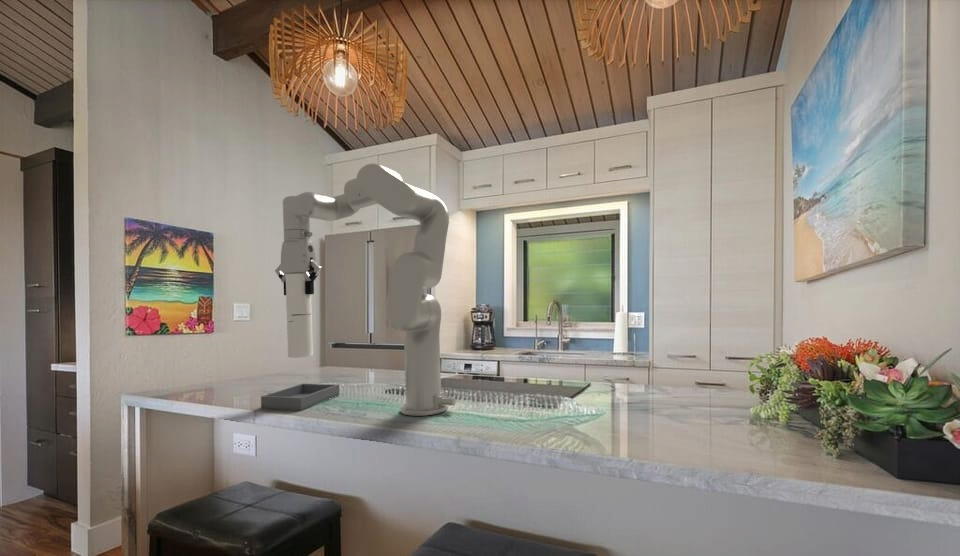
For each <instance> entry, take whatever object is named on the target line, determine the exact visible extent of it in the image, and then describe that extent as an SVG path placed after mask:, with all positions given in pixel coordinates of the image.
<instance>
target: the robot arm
mask: <svg viewBox="0 0 960 556" xmlns="http://www.w3.org/2000/svg"><path fill="white" fill-rule="evenodd" d="M373 205H380V206H381V207H382V208H384V209H385V210H387V211H388V212H390V213H392V214H393V215H395V216H398V217H401V218H406V219H408V220H409V219H410V220H415V221H417V222H419V226H418V228H417V230H416V232H415V236H414V240H413V248H412V251H408V252H407V251H406V252H404V253H402V254H400V255H398V257H397V258H396V259H395V261H394V262H393V264H392V265H391V269H390V274H389V281H388V286H387V287H388V288H387V296H386V303H385V304H386V305H385V316H386V320H387V323H388V325H389V326H390V327H391V328H392V329H394V330H396V331H398V332H406V333H405V335H404V336H405V337H404V347H403V348H404V353H403V354H404V377H405V378H404V379H405V380H404V381H405V382H404V383H405V403H404V404H403V405H401V407H400V413H401V414H403V415H406V416H413V417H414V416H415V417H416V416H417V417H423V416H432V415H437V414H440V413H441V414H442V413H444V412H446V411H447V410H448V406H455V405H456V397H454V396H446V395H445V394H446V393H445V391H444V390H442V384H441V383H442V380H441V379H442V378H441V357H440V356H441V353H440V352H441V351H440V350H441V349H440V347H441V345H440V334H441V333H440V331H441V330H440V329H441V320H442V308H441V305H440V302H439V300H438V299H437V298H436V297H434V296H433V295H431V294H428V293H426V292H424V293H423V290H424V289H425V290H427V289H431V288H435V287H436V286H437V285H438V284H439V283H440V282H441V279H442V275H443V267H444V259H445V251H446V242H447V238H448V237H447V235H448V230H449V224H450V216H449V215H450V214H449V211H448V207H447V206H446V205H445V202H443V200H441V198H439V197H438V196H437V195H435V194H433V193H431V192H429V191H427V190H424V189H422V188H419V187H415V186H414V185H410V184H408V183H406V181H404V180H403V178H402V176H401V175H400V174H399V173H398V172H397V171H395V170H392V169H391V168H389V167H386V166H384V165H381V164H379V163H375V162H374V163H368V164H365V165H364V166H362V167H361V168H360V169H359V171H358V172H357V175H356V178H352V179H350V180H348V181H346V182H345V183H344V187H343V194H340V195H336V196H329V195H324V194H321V193H316V192H312V191H305V192H302V193H299V194H298V195H289V196H286V197H284V198H283V200H282V219H283V221H282V222H283V223H282V224H283V241H282V243H281V251H280V264H279V265H278V266H277V268H276V269H275V270H274V272H275V273H276V275H277V277H278V278H279V279H280V281H281V283H282V284H283V295H284V296H286V274H300V273H304V276H305V278H306V280H307V281H305V294H311V295H314V294H315V292H314V291H315V284H314V283H315V281H316V279H317V278H318V276H319V274H320V272H321V270H322V269H323V268H322V266H320V265H319V264H318V262H317V255H316V250H315V249H316V248H315V245H314V241H313V240H311V237H313V232H311V228H310V227H311V226H310V225H311V224H310V223H311V222H310V218H311V219H314V220H315V219H317V220H322V221H328V222H333V221H334V222H335V221H338V220H342V219H346V218H348V217H352V216H353V215H355V214H356V213H358V212H359V211H360V209H363V208H367V207H370V206H373ZM309 274H310V276H309Z"/></svg>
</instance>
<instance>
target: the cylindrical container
mask: <svg viewBox="0 0 960 556" xmlns="http://www.w3.org/2000/svg"><path fill="white" fill-rule="evenodd" d="M309 276H310V274H309ZM305 281H307V280H306V278H305V276H304V273H300V274H286V295H285V296H286V297H285V300H286V303H285V307H286V330H287V332H286V333H287V334H286V335H287V336H286V337H287V357H288V358H292V359H293V358H295V359H296V358H306V357H312V356H314V340H313V338H314V336H313V334H314V333H313V314H312V313H313V309H312V308H313V307H312V294H305Z"/></svg>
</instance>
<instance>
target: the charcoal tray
mask: <svg viewBox="0 0 960 556" xmlns="http://www.w3.org/2000/svg"><path fill="white" fill-rule="evenodd" d="M338 395H340V384H331V383H325V384H324V383H301V384H296V385H294V386H289V387H287V388H284V389H281V390H278V391H273V392H271V393H268V394H264V395H262V396H261V395H260V408H269V409H268V410H279V409H284V410H283V411H301V412H302V411H304V410H306V409H307V410H308V409H309V408H312V407H314V405H315V406H317V405H319V404H318V403H320V402H322V401H324V400H327V399H329V398H332V397H335V396H337V397H339V396H338ZM335 398H336V397H335ZM332 399H333V398H332ZM327 401H328V400H327ZM322 403H323V402H322ZM316 404H317V405H316ZM320 404H321V403H320Z"/></svg>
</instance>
